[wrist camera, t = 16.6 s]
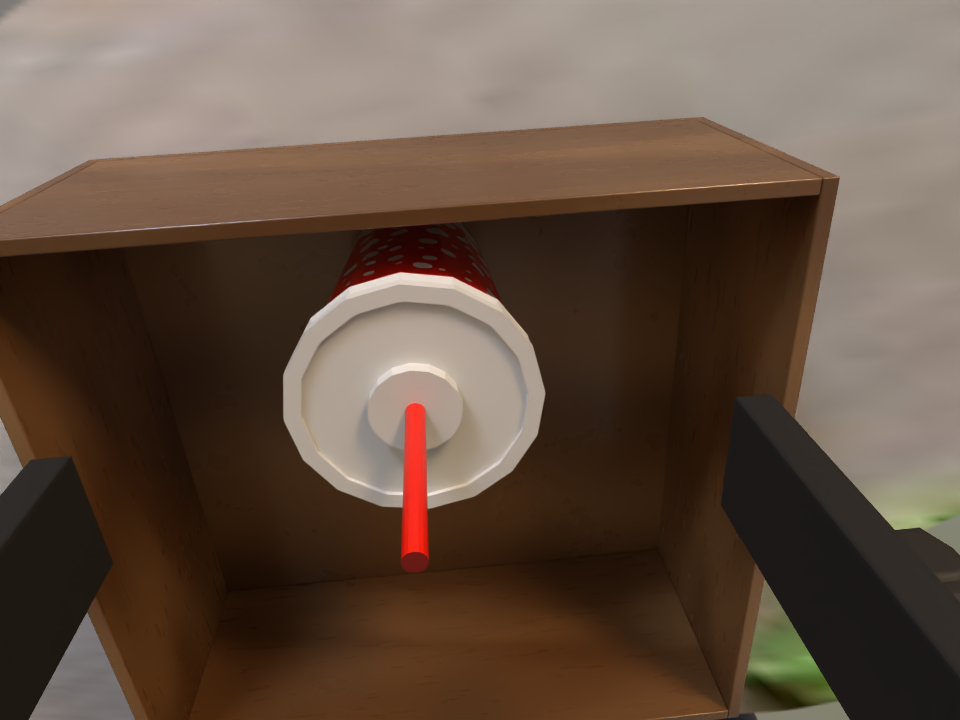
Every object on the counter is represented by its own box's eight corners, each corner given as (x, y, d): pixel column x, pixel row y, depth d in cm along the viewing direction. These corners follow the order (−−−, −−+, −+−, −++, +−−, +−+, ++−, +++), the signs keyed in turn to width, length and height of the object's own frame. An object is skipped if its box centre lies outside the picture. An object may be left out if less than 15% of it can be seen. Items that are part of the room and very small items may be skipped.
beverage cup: (429, 378, 26) (439, 724, 14) (290, 282, 24) (156, 591, 12) (539, 258, 24) (666, 534, 12) (400, 142, 22) (378, 333, 10)
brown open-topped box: (663, 548, 32) (738, 717, 24) (223, 591, 31) (162, 781, 23) (703, 116, 23) (840, 176, 16) (88, 160, 22) (-78, 244, 15)
